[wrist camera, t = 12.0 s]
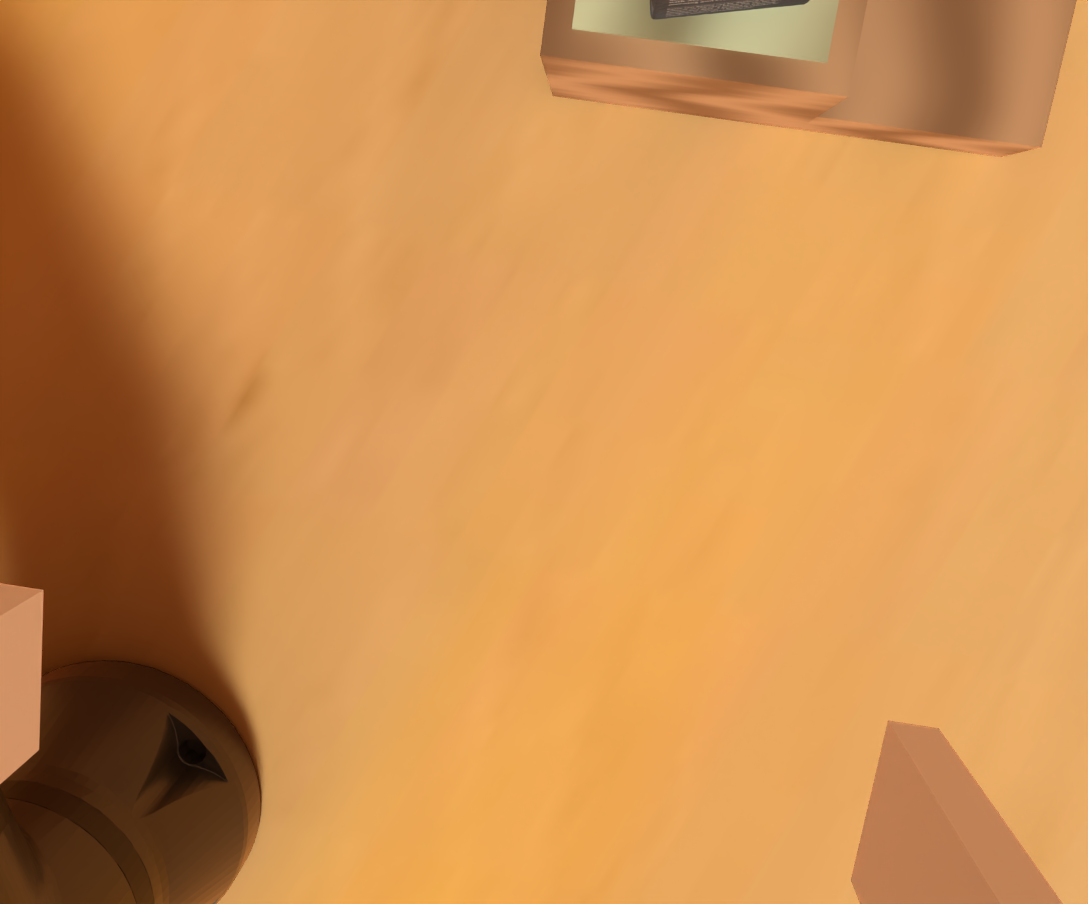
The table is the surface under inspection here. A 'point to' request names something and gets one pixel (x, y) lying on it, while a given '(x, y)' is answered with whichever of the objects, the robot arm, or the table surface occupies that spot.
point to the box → (711, 6)
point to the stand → (826, 66)
